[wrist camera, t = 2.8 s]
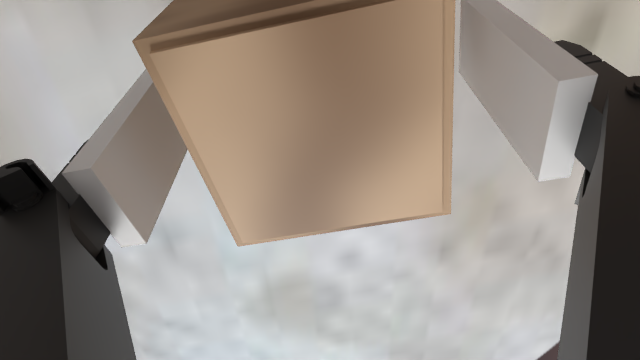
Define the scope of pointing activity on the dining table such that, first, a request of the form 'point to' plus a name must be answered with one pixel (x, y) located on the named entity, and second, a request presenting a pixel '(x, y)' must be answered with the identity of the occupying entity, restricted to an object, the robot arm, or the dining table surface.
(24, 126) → the dining table surface
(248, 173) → the small wooden stool
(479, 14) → the robot arm
